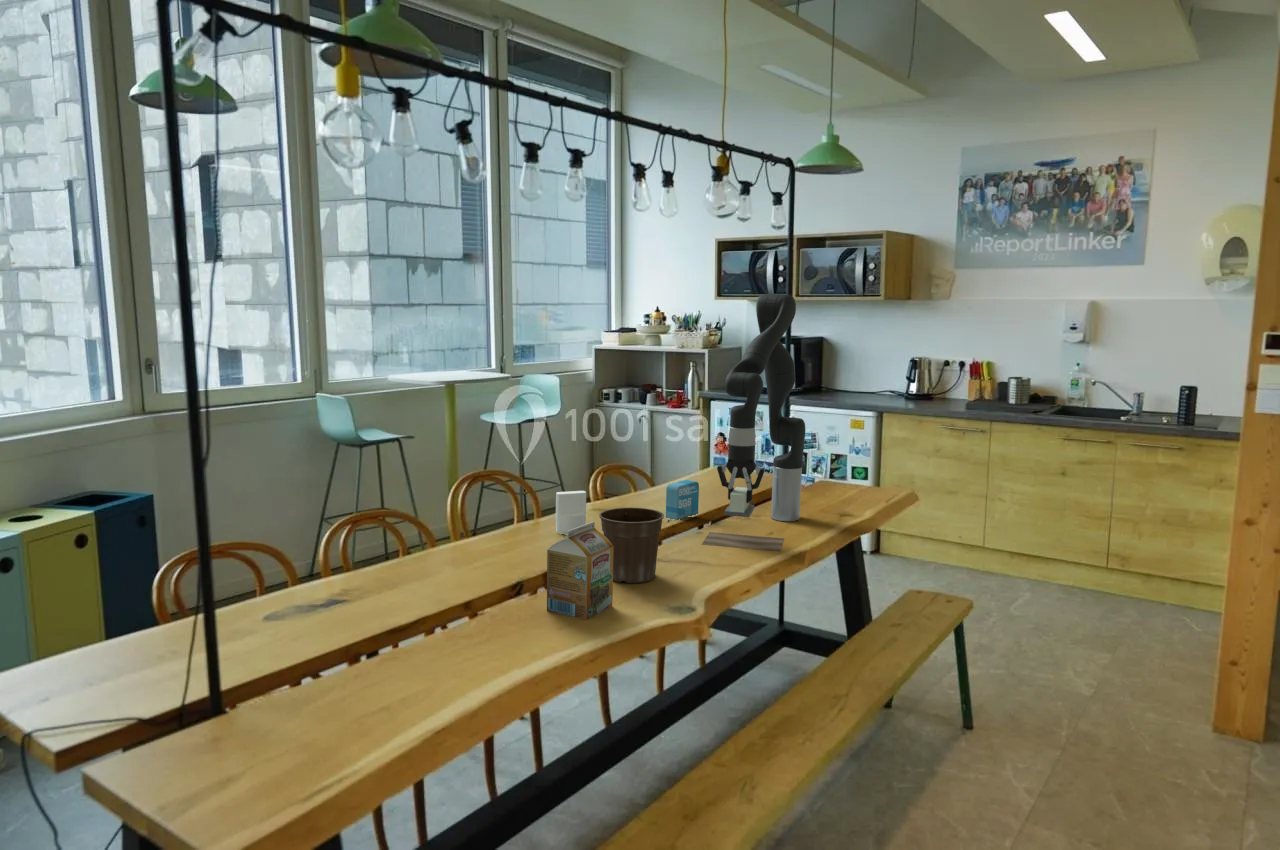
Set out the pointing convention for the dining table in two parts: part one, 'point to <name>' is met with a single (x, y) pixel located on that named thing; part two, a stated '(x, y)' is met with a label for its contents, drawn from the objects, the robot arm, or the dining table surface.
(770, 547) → the walnut board
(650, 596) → the dining table surface
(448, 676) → the dining table surface
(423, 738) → the dining table surface
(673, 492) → the data package
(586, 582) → the milk carton
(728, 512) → the sanding block
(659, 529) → the plant pot
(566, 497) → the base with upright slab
